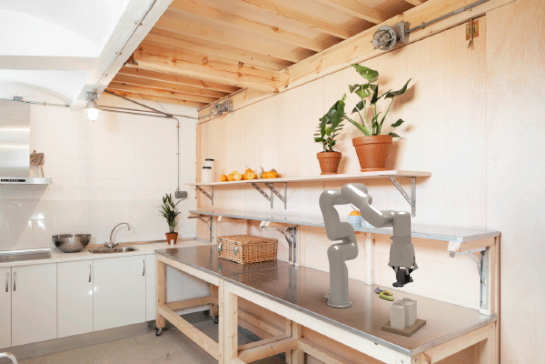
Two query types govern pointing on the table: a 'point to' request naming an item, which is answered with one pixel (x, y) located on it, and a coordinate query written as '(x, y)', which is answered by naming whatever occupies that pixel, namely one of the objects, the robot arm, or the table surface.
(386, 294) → the curved yellow hook
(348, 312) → the table surface
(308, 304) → the table surface
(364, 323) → the table surface
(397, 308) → the boxes on tan tray
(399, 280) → the grey bar with discs
